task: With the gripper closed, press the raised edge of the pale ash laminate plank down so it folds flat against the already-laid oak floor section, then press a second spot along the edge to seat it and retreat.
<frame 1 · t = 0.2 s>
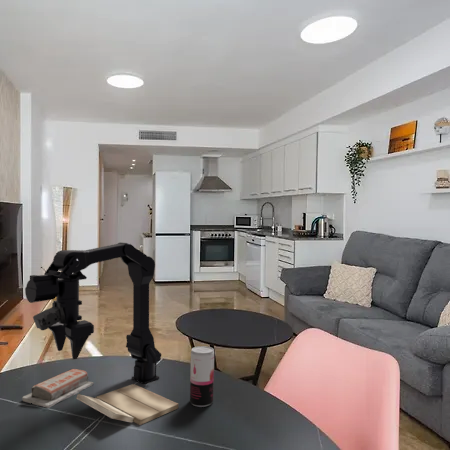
hand: (67, 354, 114), 14 cm above the table, fingers open, 9 cm apart
beverage can: (201, 403, 119), on the table
laid floor: (136, 404, 117), on the table
plank: (104, 407, 109), point 2 cm above the table, hinge at 28.0°
packaged product: (59, 394, 124), on the table
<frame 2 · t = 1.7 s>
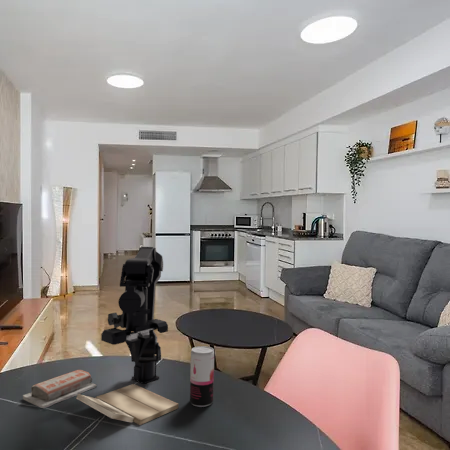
hand: (135, 361, 116), 12 cm above the table, fingers closed
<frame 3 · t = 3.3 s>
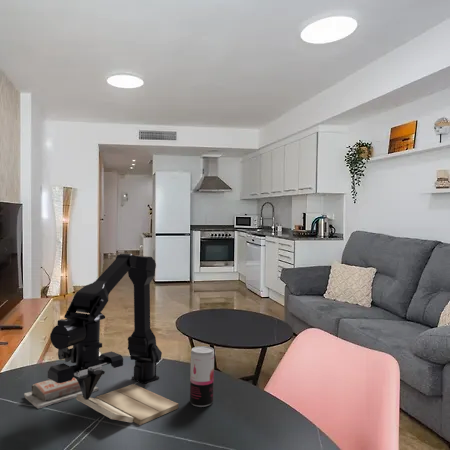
hand: (86, 399, 109), 4 cm above the table, fingers closed, pressing on plank
plank: (104, 408, 109), point 2 cm above the table, hinge at 26.7°, touching gripper
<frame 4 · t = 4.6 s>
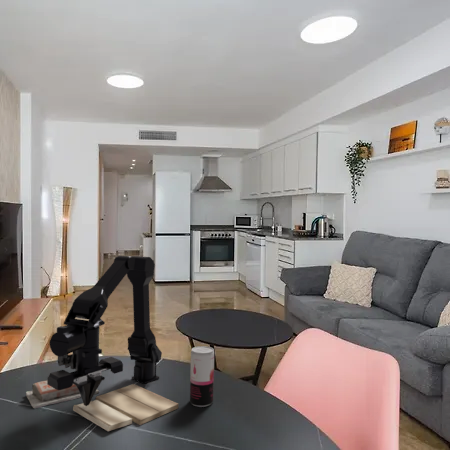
hand: (86, 405, 109), 3 cm above the table, fingers closed
plank: (101, 414, 108), point 1 cm above the table, hinge at 5.3°
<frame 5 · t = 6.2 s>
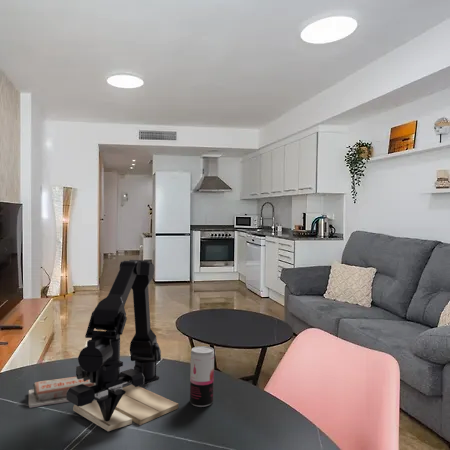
hand: (106, 420, 104), 2 cm above the table, fingers closed, pressing on plank
plank: (101, 414, 108), point 1 cm above the table, hinge at 5.3°, touching gripper
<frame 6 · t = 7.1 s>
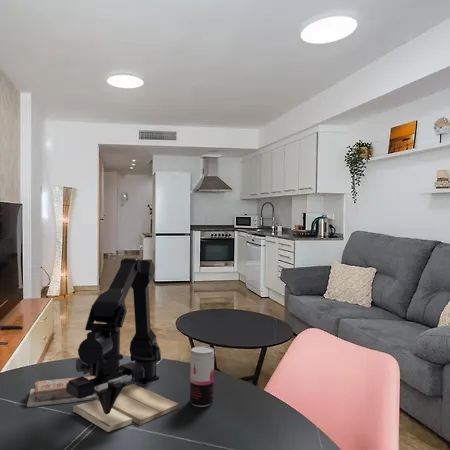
hand: (106, 413, 104), 4 cm above the table, fingers closed
plank: (101, 414, 108), point 1 cm above the table, hinge at 4.2°
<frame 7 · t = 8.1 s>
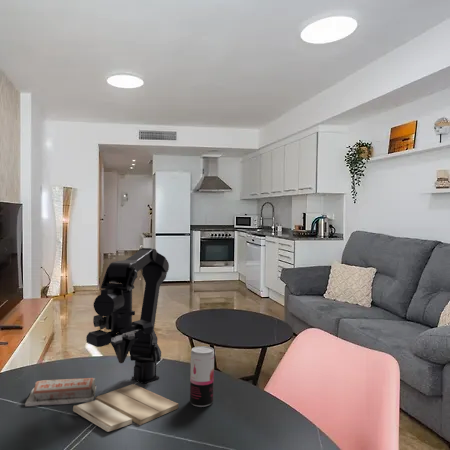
hand: (121, 362, 118), 11 cm above the table, fingers closed
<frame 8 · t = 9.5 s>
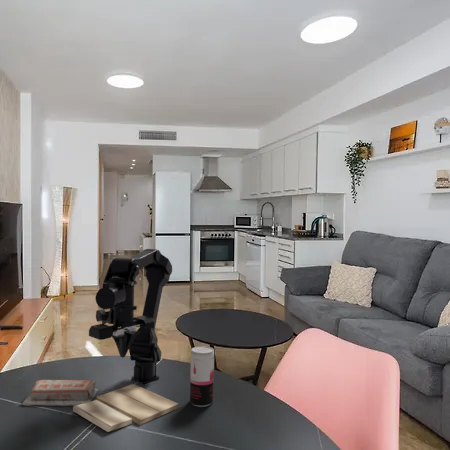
hand: (122, 356, 120), 12 cm above the table, fingers closed
at the end: plank at +4° (first picture: +28°); plank touching nothing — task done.
